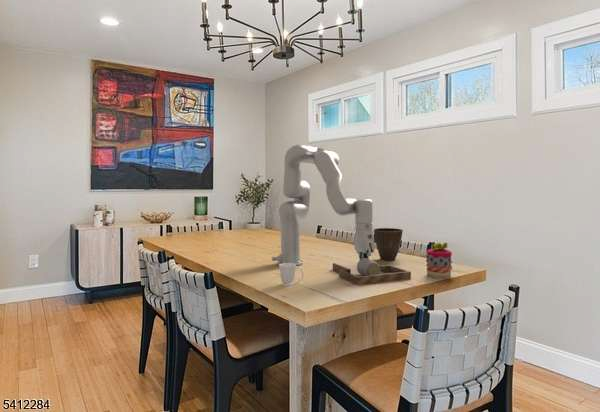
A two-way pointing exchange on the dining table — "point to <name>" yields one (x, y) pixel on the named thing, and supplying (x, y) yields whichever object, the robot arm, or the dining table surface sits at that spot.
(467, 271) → the dining table surface
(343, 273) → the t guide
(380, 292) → the dining table surface
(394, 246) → the plant pot
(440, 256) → the cake
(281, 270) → the cup
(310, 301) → the dining table surface
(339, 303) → the dining table surface
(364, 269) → the ceramic mug
